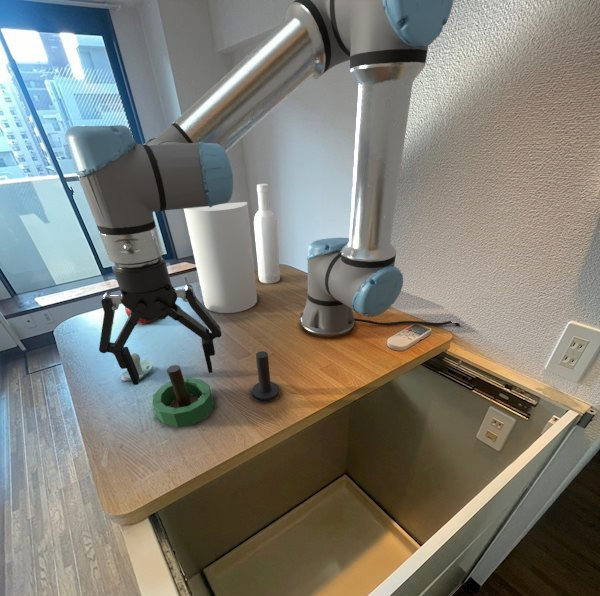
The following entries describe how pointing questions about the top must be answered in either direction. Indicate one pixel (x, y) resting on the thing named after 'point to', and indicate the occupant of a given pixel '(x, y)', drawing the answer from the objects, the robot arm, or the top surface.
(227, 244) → the cylinder
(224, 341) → the top surface
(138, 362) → the pacifier
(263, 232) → the bottle
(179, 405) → the walnut peg
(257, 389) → the charcoal peg
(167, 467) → the top surface
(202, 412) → the ring
